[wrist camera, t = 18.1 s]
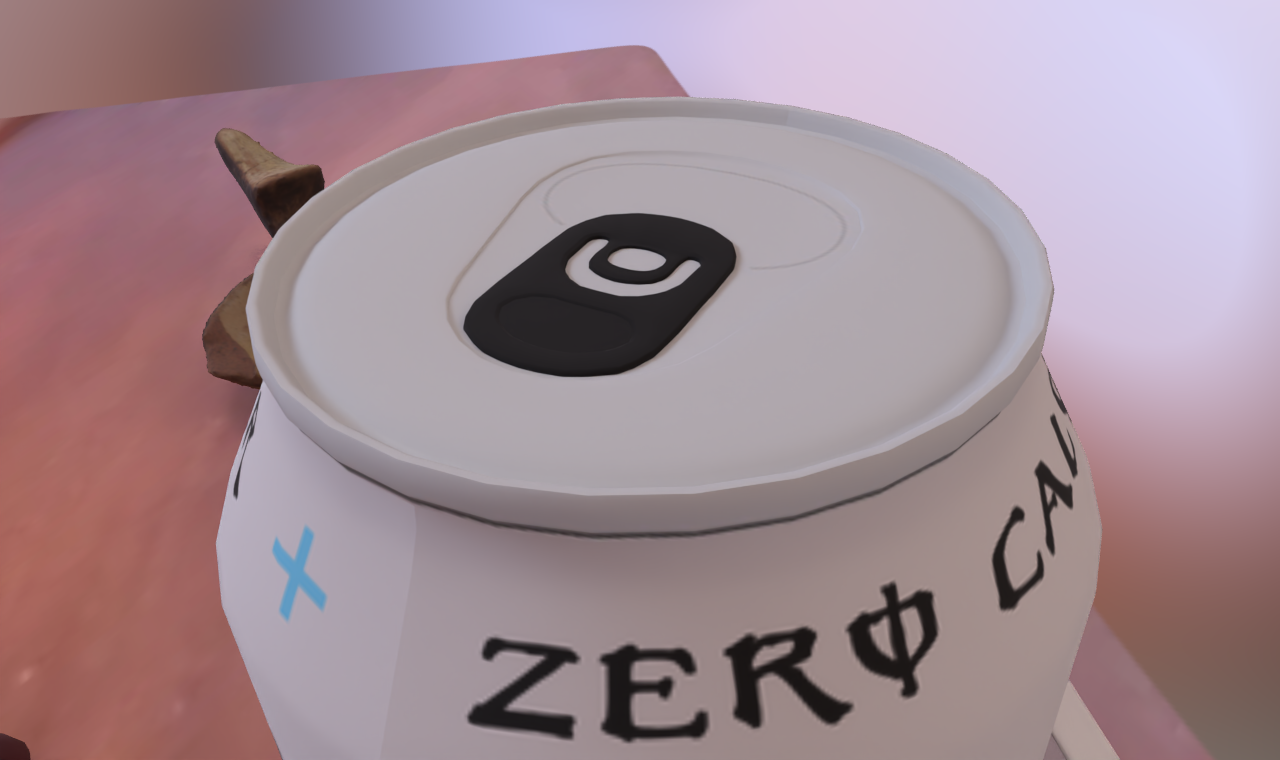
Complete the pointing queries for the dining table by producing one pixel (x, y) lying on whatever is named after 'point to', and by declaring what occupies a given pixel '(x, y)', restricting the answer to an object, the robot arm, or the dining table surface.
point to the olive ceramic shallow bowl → (275, 202)
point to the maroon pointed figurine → (13, 749)
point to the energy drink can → (658, 450)
